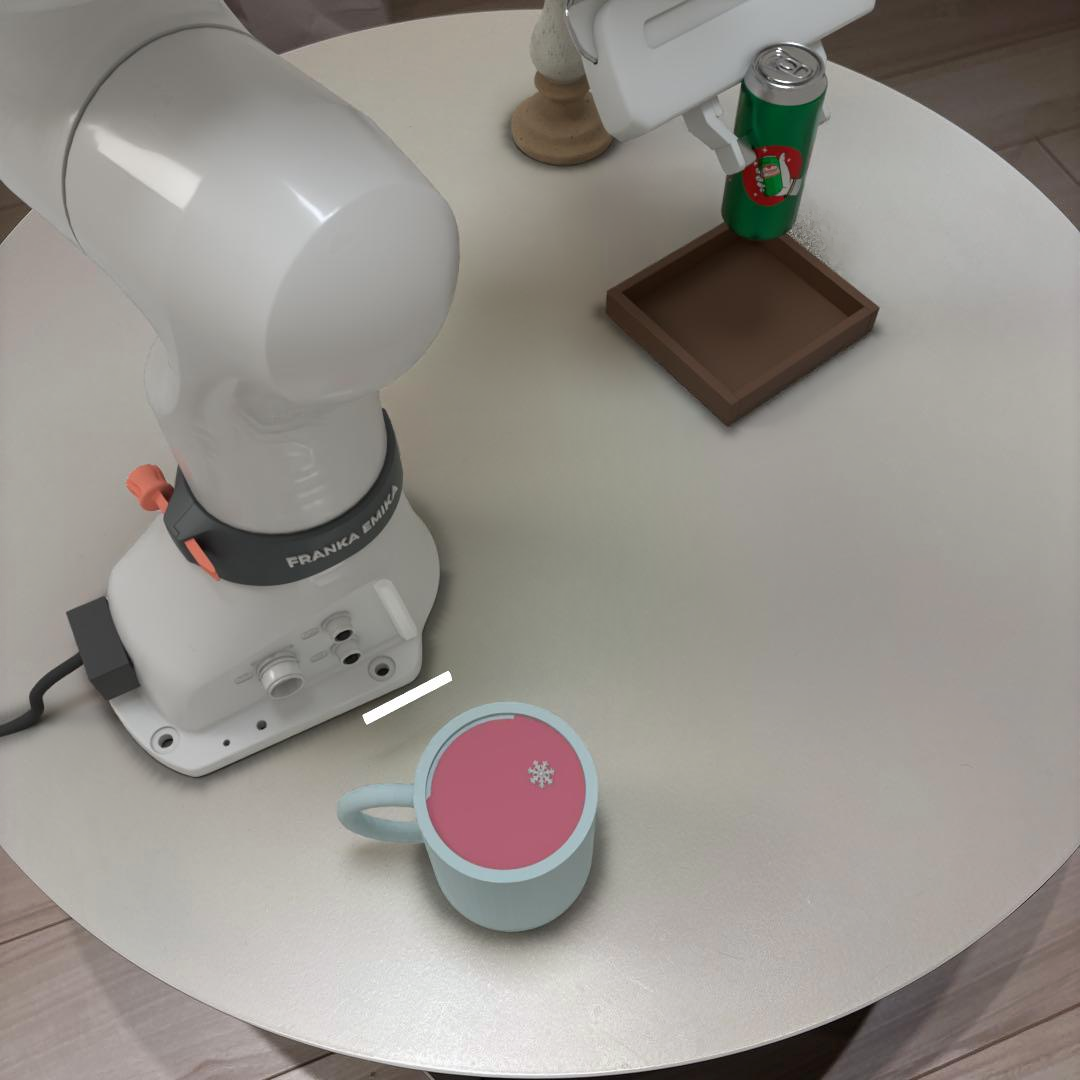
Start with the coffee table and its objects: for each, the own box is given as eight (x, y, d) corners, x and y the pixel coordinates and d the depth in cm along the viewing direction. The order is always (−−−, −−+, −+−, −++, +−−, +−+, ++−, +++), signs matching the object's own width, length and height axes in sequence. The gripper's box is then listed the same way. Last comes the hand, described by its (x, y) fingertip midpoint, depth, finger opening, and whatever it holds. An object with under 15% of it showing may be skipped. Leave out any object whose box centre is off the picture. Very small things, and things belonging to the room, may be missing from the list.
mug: (593, 772, 67) (599, 704, 59) (591, 934, 62) (596, 886, 54) (362, 765, 68) (334, 696, 59) (342, 925, 63) (308, 876, 54)
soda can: (748, 183, 79) (776, 26, 69) (809, 216, 77) (848, 60, 67) (704, 222, 77) (727, 67, 67) (766, 257, 75) (799, 103, 65)
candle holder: (509, 165, 95) (498, -74, 78) (514, 97, 100) (505, -144, 82) (614, 167, 95) (627, -73, 77) (615, 98, 99) (627, -143, 82)
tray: (727, 426, 80) (731, 405, 78) (605, 313, 86) (606, 290, 84) (872, 329, 85) (880, 307, 83) (747, 228, 91) (751, 205, 89)
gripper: (577, -29, 61) (681, 212, 65) (848, -158, 67) (927, 69, 72) (529, 8, 67) (627, 227, 71) (783, -114, 73) (859, 94, 77)
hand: (780, 147), depth 71 cm, fingers closed on soda can, 5 cm apart
